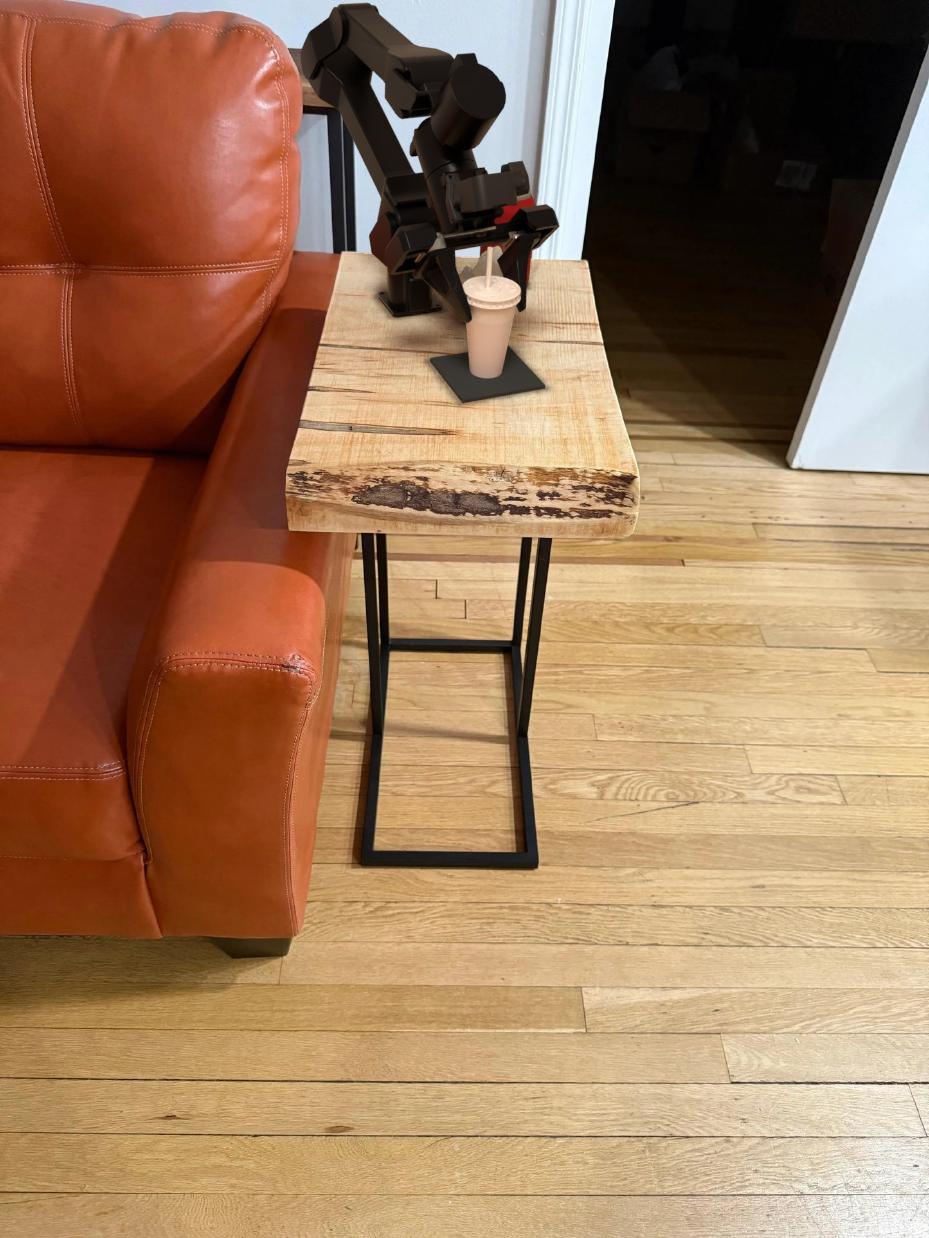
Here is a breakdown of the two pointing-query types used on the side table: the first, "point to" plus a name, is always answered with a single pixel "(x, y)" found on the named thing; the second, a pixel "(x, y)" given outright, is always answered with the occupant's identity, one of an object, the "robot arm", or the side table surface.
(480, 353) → the smoothie
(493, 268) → the tape dispenser
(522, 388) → the coaster
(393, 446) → the side table surface
